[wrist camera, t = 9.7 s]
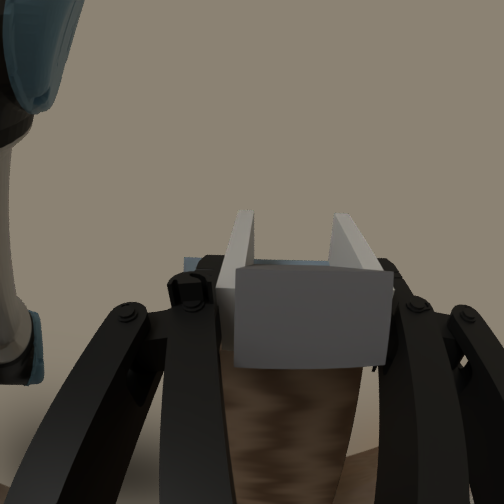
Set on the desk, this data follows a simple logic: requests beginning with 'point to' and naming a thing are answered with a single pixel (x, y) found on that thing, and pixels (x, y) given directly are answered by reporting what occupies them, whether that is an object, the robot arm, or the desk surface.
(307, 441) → the shelf stand
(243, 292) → the grey toy mallet
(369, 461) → the desk surface
